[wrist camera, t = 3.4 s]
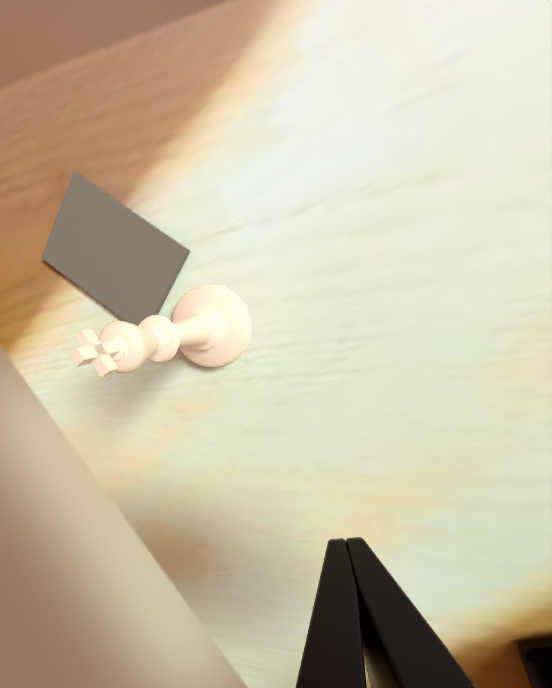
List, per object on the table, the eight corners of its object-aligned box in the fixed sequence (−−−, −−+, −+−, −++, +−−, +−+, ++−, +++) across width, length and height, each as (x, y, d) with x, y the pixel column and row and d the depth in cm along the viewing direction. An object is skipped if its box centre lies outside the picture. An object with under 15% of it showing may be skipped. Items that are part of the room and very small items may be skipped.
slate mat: (190, 250, 20) (186, 250, 20) (147, 333, 22) (143, 334, 22) (78, 174, 22) (73, 172, 21) (46, 258, 23) (41, 257, 23)
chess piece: (207, 381, 21) (73, 454, 12) (162, 316, 22) (-5, 338, 12) (268, 336, 20) (170, 380, 10) (219, 267, 20) (79, 247, 11)
